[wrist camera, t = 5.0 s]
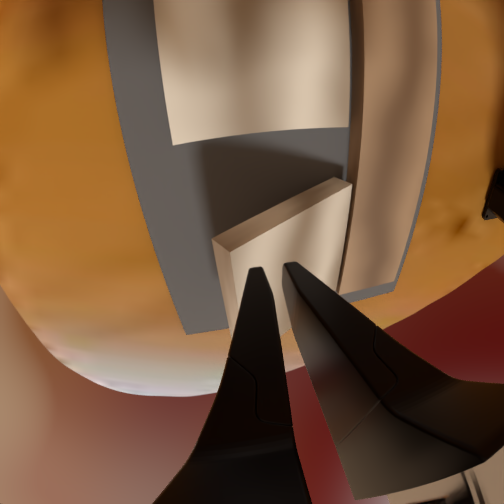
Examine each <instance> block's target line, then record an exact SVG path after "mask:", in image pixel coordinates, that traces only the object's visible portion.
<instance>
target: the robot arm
mask: <svg viewBox="0 0 504 504" xmlns="http://www.w3.org/2000/svg"><path fill="white" fill-rule="evenodd" d="M482 218H483V219H484V220H489V219H494V218H499V219H500V220H501V221H502V222H503V223H504V169H502V168H498V169H497V170H496V173H495V177H494V180H493V184H492V187H491V191H490V194H489V197H488V200H487V203H486V206H485V209H484V212H483V215H482ZM282 289H283V293H284V298H285V302H286V306H287V310H288V314H289V318H290V322H291V326H292V330H293V333H294V336H295V339H296V342H297V344H298V347H299V350H300V352H301V355H302V358H303V360H304V363H305V365H306V368H307V371H308V373H309V376H310V379H311V381H312V384H313V387H314V390H315V392H316V395H317V397H318V400H319V403H320V406H321V408H322V411H323V414H324V416H325V419H326V422H327V425H328V427H329V430H330V433H331V435H332V438H333V441H334V444H335V445H336V449H337V452H338V455H339V457H340V460H341V463H342V466H343V468H344V471H345V474H346V477H347V480H348V482H349V485H350V488H351V491H352V493H353V496H354V499H355V500H359V499H365V498H371V497H377V496H382V495H387V496H388V499H389V502H390V504H504V384H498V383H485V382H473V381H464V380H459V379H456V378H453V377H451V376H448V375H447V374H445V373H444V372H442V371H441V370H439V369H438V368H436V367H434V366H433V365H431V364H430V363H428V362H427V361H425V360H424V359H422V358H421V357H419V356H418V355H416V354H414V353H413V352H412V351H410V350H409V349H407V348H406V347H405V346H403V345H402V344H400V343H399V342H398V341H396V340H395V339H393V338H392V337H391V336H390V335H389V334H387V333H386V332H385V331H384V330H382V329H381V328H380V327H379V326H376V324H375V323H374V322H372V321H371V320H370V319H369V318H367V317H366V316H365V315H364V314H362V313H361V312H360V311H359V310H357V309H356V308H355V307H354V306H352V305H351V304H350V303H349V302H347V301H346V300H345V299H344V298H342V297H341V296H340V295H339V294H337V293H336V292H335V291H334V290H332V289H331V288H330V287H329V286H327V285H326V284H325V283H324V282H322V281H321V280H320V279H318V278H317V277H316V276H315V275H313V274H312V273H311V272H310V271H308V270H307V269H306V268H304V267H303V266H302V265H301V264H299V263H298V262H296V261H293V262H286V263H284V264H283V266H282ZM292 426H293V424H292V417H291V409H290V402H289V395H288V388H287V381H286V375H285V367H284V360H283V353H282V346H281V339H280V333H279V326H278V320H277V313H276V306H275V300H274V295H273V292H272V289H271V287H270V284H269V282H268V279H267V276H266V274H265V271H264V269H263V267H261V266H259V267H252V268H249V270H248V274H247V278H246V283H245V287H244V291H243V295H242V299H241V303H240V308H239V312H238V316H237V320H236V324H235V328H234V332H233V337H232V341H231V345H230V349H229V353H228V358H227V361H226V365H225V369H224V372H223V376H222V379H221V383H220V386H219V389H218V392H217V394H216V397H215V400H214V403H213V405H212V407H211V410H210V412H209V414H208V417H207V419H206V421H205V424H204V426H203V429H202V431H201V433H200V436H199V438H198V441H197V442H196V445H195V447H194V449H193V451H192V453H191V454H190V456H189V458H188V459H187V461H186V463H185V464H184V465H183V466H182V468H181V469H180V470H179V472H178V473H177V474H176V475H175V477H174V478H173V479H172V480H171V482H170V483H169V484H168V485H167V486H166V488H165V489H164V490H163V491H162V493H161V494H160V495H159V496H158V497H157V498H156V500H155V501H154V502H153V503H152V504H312V502H311V498H310V495H309V491H308V488H307V484H306V480H305V477H304V473H303V470H302V467H301V463H300V459H299V456H298V452H297V448H296V443H295V437H294V431H293V427H292Z"/></svg>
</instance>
